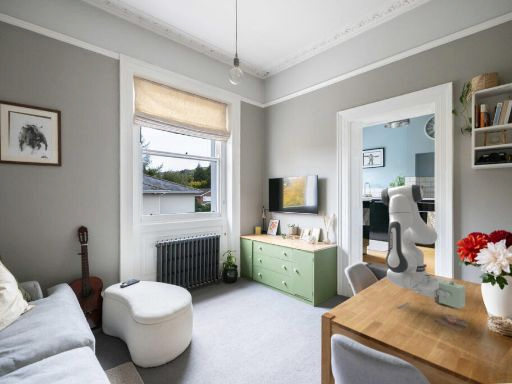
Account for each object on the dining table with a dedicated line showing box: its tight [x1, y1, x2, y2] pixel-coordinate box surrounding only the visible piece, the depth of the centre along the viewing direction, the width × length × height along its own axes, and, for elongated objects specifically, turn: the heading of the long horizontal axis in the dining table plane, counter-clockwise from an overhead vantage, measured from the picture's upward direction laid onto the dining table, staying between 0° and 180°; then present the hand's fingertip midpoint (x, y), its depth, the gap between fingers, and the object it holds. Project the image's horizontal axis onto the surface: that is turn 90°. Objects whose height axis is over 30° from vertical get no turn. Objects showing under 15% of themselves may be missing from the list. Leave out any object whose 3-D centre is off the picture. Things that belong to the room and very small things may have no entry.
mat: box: [396, 302, 410, 309], centre depth 129 cm, size 11×10×1 cm
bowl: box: [446, 314, 458, 324], centre depth 115 cm, size 3×3×2 cm
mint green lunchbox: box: [439, 280, 466, 310], centre depth 115 cm, size 6×8×10 cm
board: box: [434, 313, 471, 332], centre depth 115 cm, size 12×10×1 cm
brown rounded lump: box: [433, 295, 447, 307], centre depth 134 cm, size 7×7×9 cm
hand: (454, 293), depth 114 cm, fingers closed on mint green lunchbox, 6 cm apart
